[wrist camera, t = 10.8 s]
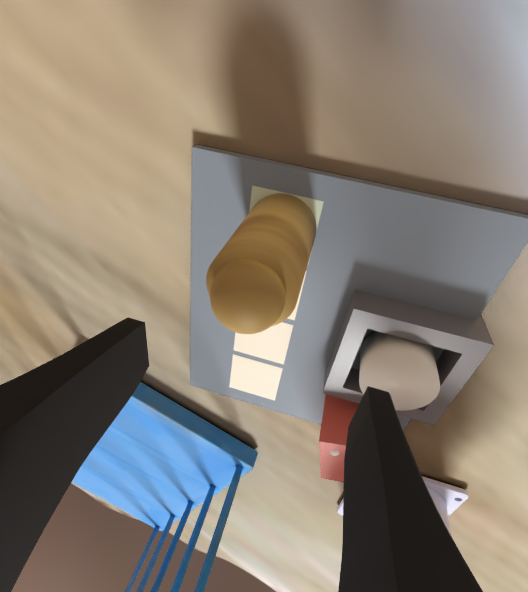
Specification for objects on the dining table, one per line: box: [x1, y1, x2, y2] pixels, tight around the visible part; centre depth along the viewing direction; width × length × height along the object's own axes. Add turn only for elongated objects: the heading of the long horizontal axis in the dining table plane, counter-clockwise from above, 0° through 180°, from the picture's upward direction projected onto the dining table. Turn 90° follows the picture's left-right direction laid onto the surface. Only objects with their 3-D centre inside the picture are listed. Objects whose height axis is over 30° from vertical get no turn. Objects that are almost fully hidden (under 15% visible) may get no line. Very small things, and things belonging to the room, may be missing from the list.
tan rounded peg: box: [206, 193, 317, 334], centre depth 15 cm, size 4×4×8 cm
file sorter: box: [72, 382, 258, 592], centre depth 32 cm, size 25×17×15 cm
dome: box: [359, 331, 440, 411], centre depth 19 cm, size 4×4×2 cm
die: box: [319, 394, 359, 482], centre depth 23 cm, size 4×4×4 cm
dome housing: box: [323, 290, 494, 426], centre depth 20 cm, size 7×7×2 cm
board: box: [190, 145, 528, 430], centre depth 21 cm, size 18×16×1 cm
